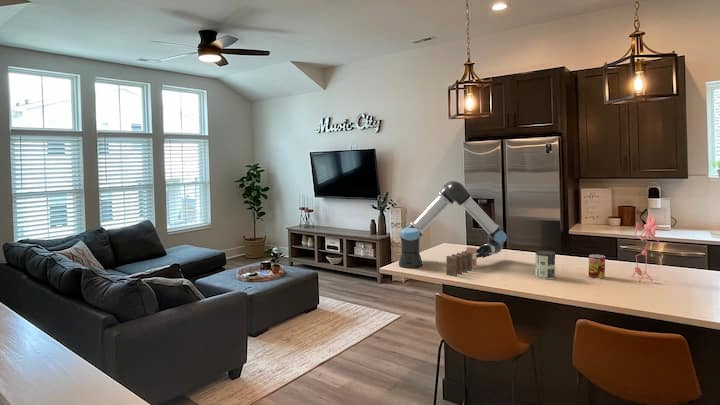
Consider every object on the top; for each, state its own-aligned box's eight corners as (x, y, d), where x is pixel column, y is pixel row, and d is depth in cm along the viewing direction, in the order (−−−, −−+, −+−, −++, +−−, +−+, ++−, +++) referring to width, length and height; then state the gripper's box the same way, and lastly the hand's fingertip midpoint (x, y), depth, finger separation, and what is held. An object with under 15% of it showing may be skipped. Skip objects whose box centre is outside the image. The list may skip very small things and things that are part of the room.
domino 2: (460, 274, 248) (460, 256, 247) (451, 272, 253) (451, 254, 252) (461, 274, 249) (462, 255, 249) (453, 272, 254) (453, 254, 253)
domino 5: (475, 266, 260) (475, 248, 259) (466, 264, 264) (466, 247, 263) (476, 265, 261) (476, 247, 260) (467, 264, 265) (467, 246, 264)
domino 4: (470, 271, 256) (470, 253, 255) (461, 269, 260) (461, 251, 259) (471, 270, 257) (471, 252, 256) (462, 269, 261) (462, 251, 261)
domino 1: (455, 276, 244) (455, 257, 244) (446, 274, 249) (446, 256, 248) (456, 275, 246) (456, 257, 245) (448, 274, 250) (448, 255, 249)
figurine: (644, 285, 219) (648, 218, 216) (623, 273, 244) (627, 212, 241) (677, 287, 216) (682, 219, 213) (653, 275, 241) (658, 213, 238)
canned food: (585, 276, 240) (585, 255, 239) (595, 274, 243) (596, 253, 242) (597, 279, 233) (598, 257, 232) (607, 278, 236) (608, 256, 235)
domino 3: (465, 272, 252) (465, 254, 251) (456, 271, 256) (456, 253, 256) (466, 272, 253) (466, 254, 252) (458, 270, 258) (458, 252, 257)
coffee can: (552, 274, 244) (552, 250, 243) (556, 279, 234) (557, 254, 233) (533, 274, 246) (533, 250, 245) (537, 279, 236) (537, 253, 235)
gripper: (500, 258, 269) (482, 264, 253) (473, 254, 282) (454, 260, 266) (500, 246, 269) (482, 252, 252) (473, 243, 282) (454, 248, 265)
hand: (468, 256), depth 259 cm, fingers closed on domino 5, 6 cm apart
